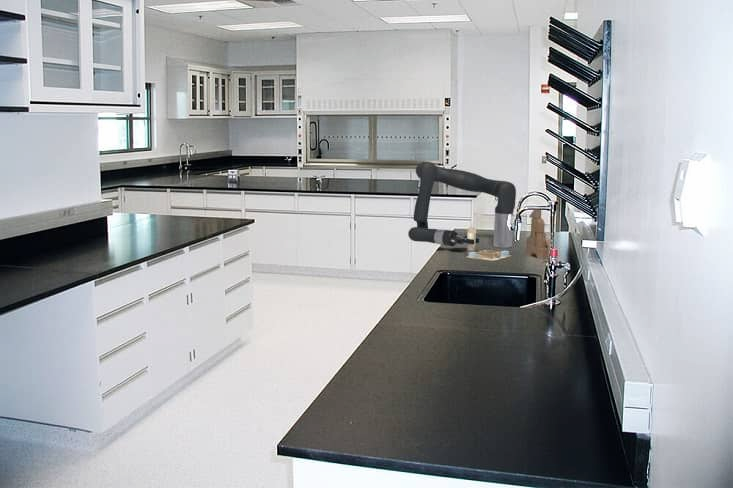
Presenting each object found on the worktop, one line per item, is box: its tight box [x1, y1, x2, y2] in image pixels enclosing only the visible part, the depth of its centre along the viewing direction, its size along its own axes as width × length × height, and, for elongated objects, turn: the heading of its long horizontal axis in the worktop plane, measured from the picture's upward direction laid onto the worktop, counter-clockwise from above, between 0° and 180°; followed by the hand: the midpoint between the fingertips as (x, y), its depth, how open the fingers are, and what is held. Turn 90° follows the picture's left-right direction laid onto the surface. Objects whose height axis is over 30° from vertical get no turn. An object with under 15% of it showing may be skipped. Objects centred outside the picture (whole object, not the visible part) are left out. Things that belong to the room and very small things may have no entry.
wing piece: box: [500, 250, 510, 258], centre depth 329 cm, size 6×2×2 cm, turn 140°
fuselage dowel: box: [466, 227, 477, 255], centre depth 335 cm, size 4×4×13 cm
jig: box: [466, 249, 511, 262], centre depth 327 cm, size 18×14×4 cm
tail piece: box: [468, 251, 478, 259], centre depth 325 cm, size 4×2×2 cm, turn 140°
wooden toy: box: [525, 209, 551, 263], centre depth 327 cm, size 16×7×25 cm, turn 20°
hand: (476, 241), depth 333 cm, fingers closed on fuselage dowel, 4 cm apart
